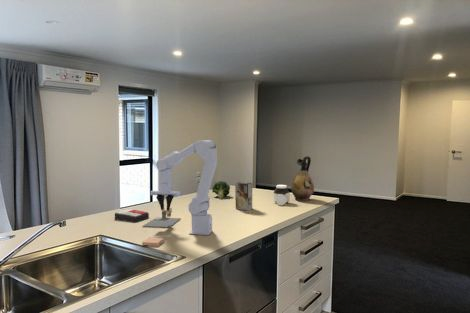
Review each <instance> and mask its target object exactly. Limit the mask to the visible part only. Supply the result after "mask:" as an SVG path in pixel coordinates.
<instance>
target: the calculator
mask: <svg viewBox="0 0 470 313" xmlns="http://www.w3.org/2000/svg"><path fill="white" fill-rule="evenodd" d="M149 218H150V213H149V212H147V211H142V210H137V209H129V208H127V209H125V210H121V211H120V210H119V211H116V212H115V213H114V220H117V219H118V221H124V220H125V221H126V222H131V221H133V222H132V223H138V222H140V221H143V220H146V219H149Z"/></svg>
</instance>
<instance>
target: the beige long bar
mask: <svg viewBox="0 0 470 313" xmlns="http://www.w3.org/2000/svg"><path fill="white" fill-rule="evenodd" d="M172 212H173V207H170V210H167V207H164V209H162V210H161V216H157V218H156V217H155V218H153V219H154V220H158V221H166V220H168V219H170V218H172V217H171V216H172Z"/></svg>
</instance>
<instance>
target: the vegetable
mask: <svg viewBox="0 0 470 313" xmlns="http://www.w3.org/2000/svg"><path fill="white" fill-rule="evenodd" d="M230 190H231V186H230V184H228V183H227V182H226V181H222V180H219V181H217V182H215V183H214V184H213V186H212V189H211V191H212V193H215V195H217V197H218V199H223V198H224V197H227V196H229V194H230Z"/></svg>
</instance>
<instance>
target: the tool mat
mask: <svg viewBox="0 0 470 313" xmlns="http://www.w3.org/2000/svg"><path fill="white" fill-rule="evenodd" d="M157 217H158V216H157ZM157 217H156V216H155V218H157ZM155 218H153V219H151V220H149V221H148V222H147V223H145V224H143V225H142V228H156V227H161V228H160V229H170V228H171V227H173V226H174V225H175V224H177V223H178V222H180V221H181V220H182V218H179V217H169V218H170V219H168V220H166V221H158V220H154V219H155Z"/></svg>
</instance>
